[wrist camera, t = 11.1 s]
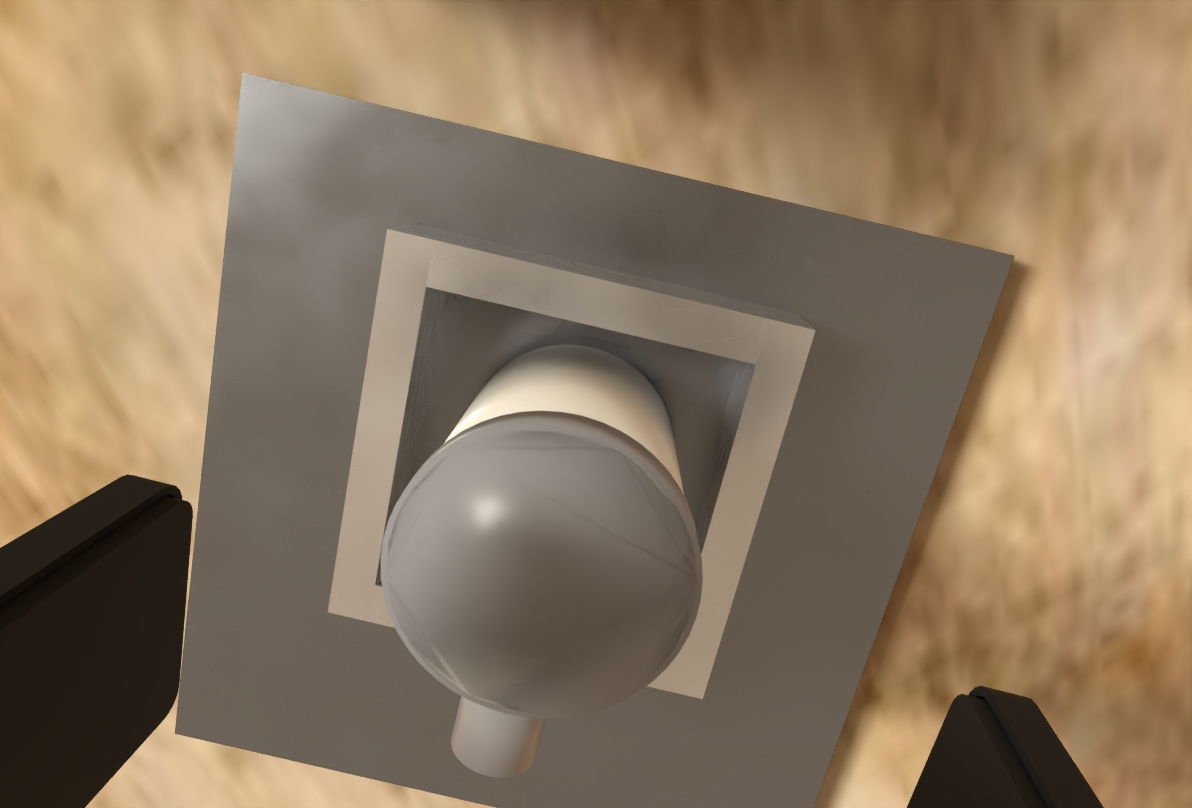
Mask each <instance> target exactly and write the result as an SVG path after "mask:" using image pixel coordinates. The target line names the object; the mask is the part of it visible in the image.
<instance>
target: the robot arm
mask: <svg viewBox="0 0 1192 808" xmlns="http://www.w3.org/2000/svg"><path fill="white" fill-rule="evenodd" d="M192 518H193V510H192V506H191V504H190V503H189V502H188V501H184V500H182V495H181V492H180V490H179V489H178V488H177V487H176V486H174V485H170V484H166V483H162V482H158V481H154V480H150V479H146V478H142V477H138V476H133V475H125V476H122V477H120V478H118V479H117V480H115V481H113V482H112V483H110V484H108V485H106V486H105V487H103V488H101V489H100V490H98V491H96V492H95V493H93V494H91V495H89V496H88V497H86V498H84V499H83V500H81V501H79V502H78V503H76V504H74V505H72V506H71V507H69V508H67V509H66V510H64V511H62V512H61V513H59V514H57V515H56V516H54V517H52V518H50V519H49V520H47V521H45V522H44V523H42V524H40V525H39V526H37V527H35V528H33V529H32V530H30V531H28V532H27V533H25V534H23V535H22V536H20V537H18V538H16V539H15V540H13V541H11V542H10V543H8V544H6V545H5V546H3V547H1V548H0V808H85V807H86V806H87V805H88V803H89V802H90V801H91V800H92V799H93V798H94V797H95V796H96V795H97V793H98V792H99V791H100V790H101V789H102V788H103V787H104V786H105V785H106V783H107V782H108V781H109V780H110V779H111V778H112V777H113V776H114V774H115V773H116V772H117V771H118V770H119V769H120V768H121V767H122V766H123V764H124V763H125V762H126V761H127V760H128V759H129V758H130V757H131V756H132V754H133V753H134V752H135V751H136V750H137V749H138V748H139V747H140V746H141V744H142V743H143V742H144V741H145V740H146V739H147V738H148V737H149V736H150V734H151V733H152V732H153V731H154V730H155V729H156V728H157V727H158V726H159V724H160V723H161V722H162V721H163V720H164V719H165V717H166V716H167V715H168V713H169V711H170V710H171V708H172V706H173V704H174V702H175V699H176V696H177V693H178V689H179V681H180V669H181V656H182V644H183V631H184V618H185V606H186V593H187V581H188V568H189V555H190V543H191V530H192ZM907 808H1104V807H1103V806H1102V804H1101V803H1100V801H1099V800H1098V798H1097V797H1096V795H1095V793H1094V792H1093V790H1092V789H1091V787H1090V786H1089V784H1088V783H1087V781H1086V780H1085V778H1084V777H1083V775H1082V774H1081V772H1080V770H1079V769H1078V767H1077V766H1076V764H1075V763H1074V761H1073V760H1072V758H1071V757H1070V755H1069V754H1068V752H1067V751H1066V749H1065V748H1064V746H1063V744H1062V743H1061V741H1060V740H1059V738H1058V737H1057V735H1056V734H1055V732H1054V731H1053V729H1052V728H1051V726H1050V725H1049V723H1048V722H1047V720H1046V718H1045V717H1044V715H1043V714H1042V712H1041V711H1040V709H1039V708H1038V706H1037V705H1036V704H1035V703H1034V702H1033V700H1032V699H1030V698H1027V697H1023V696H1019V695H1015V694H1011V693H1007V692H1003V691H999V690H995V689H991V688H987V687H983V686H979V687H975V688H974V689H973V690H972V691H971V692H970V693H969V695H964V694H961V695H958V696H957V697H956V698H955V699H954V701H953V702H952V704H951V706H950V708H949V711H948V713H947V715H946V718H945V720H944V722H943V725H942V727H941V729H940V732H939V734H938V736H937V739H936V741H935V743H934V746H933V748H932V750H931V753H930V755H929V757H928V760H927V762H926V764H925V767H924V769H923V771H922V774H921V776H920V778H919V780H918V783H917V785H916V787H915V790H914V792H913V794H912V797H911V799H910V801H909V804H908V806H907Z"/></svg>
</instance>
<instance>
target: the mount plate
mask: <svg viewBox="0 0 1192 808" xmlns="http://www.w3.org/2000/svg"><path fill="white" fill-rule="evenodd" d="M1013 259H1014V256H1013V255H1009V254H1005V253H1000V252H996V251H992V250H988V249H983V248H979V247H975V246H971V245H967V244H962V243H958V242H954V241H950V240H946V239H941V238H937V237H933V236H929V235H924V234H920V233H916V232H912V231H908V230H903V229H899V228H895V227H891V226H887V225H882V224H878V223H874V222H870V221H865V220H861V219H857V218H853V217H849V216H844V215H840V214H836V213H832V212H828V211H823V210H819V209H815V208H811V207H806V206H802V205H798V204H794V203H790V202H785V201H781V200H777V199H773V198H769V197H764V196H760V195H756V194H752V193H747V192H743V191H739V190H735V189H731V188H726V187H722V186H718V185H714V184H710V183H705V182H701V181H697V180H693V179H688V178H684V177H680V176H676V175H672V174H667V173H663V172H659V171H655V170H651V169H646V168H642V167H638V166H634V165H629V164H625V163H621V162H617V161H613V160H608V159H604V158H600V157H596V156H592V155H587V154H583V153H579V152H575V151H571V150H566V149H562V148H558V147H554V146H549V145H545V144H541V143H537V142H533V141H528V140H524V139H520V138H516V137H512V136H507V135H503V134H499V133H495V132H490V131H486V130H482V129H478V128H474V127H469V126H465V125H461V124H457V123H453V122H448V121H444V120H440V119H436V118H431V117H427V116H423V115H419V114H415V113H410V112H406V111H402V110H398V109H394V108H389V107H385V106H381V105H377V104H372V103H368V102H364V101H360V100H356V99H351V98H347V97H343V96H339V95H335V94H330V93H326V92H322V91H318V90H313V89H309V88H305V87H301V86H297V85H292V84H288V83H284V82H280V81H276V80H271V79H267V78H263V77H259V76H254V75H250V74H246V73H242V83H241V93H240V102H239V112H238V122H237V132H236V141H235V151H234V161H233V171H232V180H231V190H230V200H229V210H228V220H227V229H226V239H225V249H224V259H223V268H222V278H221V288H220V298H219V307H218V317H217V327H216V337H215V346H214V356H213V366H212V376H211V386H210V395H209V405H208V415H207V425H206V434H205V444H204V454H203V464H202V473H201V483H200V493H199V503H198V513H197V522H196V532H195V542H194V552H193V561H192V571H191V581H190V591H189V600H188V610H187V620H186V630H185V639H184V649H183V659H182V669H181V679H180V688H179V698H178V708H177V718H176V727H175V734H179V735H183V736H188V737H192V738H196V739H201V740H205V741H209V742H214V743H218V744H222V745H227V746H231V747H236V748H240V749H244V750H249V751H253V752H257V753H262V754H266V755H270V756H275V757H279V758H283V759H288V760H292V761H296V762H301V763H305V764H309V765H314V766H318V767H322V768H327V769H331V770H335V771H340V772H344V773H348V774H353V775H357V776H361V777H366V778H370V779H375V780H379V781H383V782H388V783H392V784H396V785H401V786H405V787H409V788H414V789H418V790H422V791H427V792H431V793H435V794H440V795H444V796H448V797H453V798H457V799H461V800H466V801H470V802H474V803H479V804H483V805H487V806H492V807H496V808H814V805H815V803H816V800H817V797H818V794H819V792H820V789H821V786H822V783H823V781H824V778H825V775H826V772H827V770H828V767H829V764H830V761H831V759H832V756H833V753H834V750H835V748H836V745H837V742H838V740H839V737H840V734H841V731H842V729H843V726H844V723H845V720H846V718H847V715H848V712H849V709H850V707H851V704H852V701H853V698H854V696H855V693H856V690H857V687H858V685H859V682H860V679H861V676H862V674H863V671H864V668H865V665H866V663H867V660H868V657H869V654H870V652H871V649H872V646H873V643H874V641H875V638H876V635H877V632H878V630H879V627H880V624H881V621H882V619H883V616H884V613H885V610H886V608H887V605H888V602H889V599H890V597H891V594H892V591H893V588H894V586H895V583H896V580H897V577H898V575H899V572H900V569H901V566H902V564H903V561H904V558H905V555H906V553H907V550H908V547H909V545H910V542H911V539H912V536H913V534H914V531H915V528H916V525H917V523H918V520H919V517H920V514H921V512H922V509H923V506H924V503H925V501H926V498H927V495H928V492H929V490H930V487H931V484H932V481H933V479H934V476H935V473H936V470H937V468H938V465H939V462H940V459H941V457H942V454H943V451H944V448H945V446H946V443H947V440H948V437H949V435H950V432H951V429H952V426H953V424H954V421H955V418H956V415H957V413H958V410H959V407H960V404H961V402H962V399H963V396H964V393H965V391H966V388H967V385H968V382H969V380H970V377H971V374H972V371H973V369H974V366H975V363H976V361H977V358H978V355H979V352H980V350H981V347H982V344H983V341H984V339H985V336H986V333H987V330H988V328H989V325H990V322H991V319H992V317H993V314H994V311H995V308H996V306H997V303H998V300H999V297H1000V295H1001V292H1002V289H1003V286H1004V284H1005V281H1006V278H1007V275H1008V273H1009V270H1010V267H1011V264H1012V262H1013ZM555 345H580V346H586V347H591V348H596V349H599V350H602V351H605V352H608V353H610V354H612V355H614V356H616V357H619V358H621V359H622V360H624V361H625V362H627V363H628V364H630V365H632V366H633V367H634V368H635V369H637V370H638V371H639V372H640V373H641V374H642V375H644V377H645V378H646V379H647V380H648V381H649V382H650V383H651V384H652V386H653V387H654V388H655V390H656V391H657V393H658V394H659V396H660V397H661V399H662V401H663V403H664V405H665V407H666V409H667V412H668V415H669V418H670V421H671V426H672V431H673V437H674V442H675V448H676V453H677V459H678V465H679V470H680V476H681V481H682V487H683V493H684V497H685V499H686V501H687V503H688V505H689V508H690V511H691V514H692V516H693V519H694V522H695V528H696V533H697V538H698V543H699V548H700V553H701V559H702V574H703V583H702V593H701V601H700V605H699V609H698V613H697V617H696V620H695V622H694V625H693V627H692V630H691V632H690V635H689V637H688V638H687V640H686V642H685V644H684V645H683V647H682V649H681V650H680V652H679V653H678V655H677V656H676V657H675V659H674V660H673V661H672V662H671V664H670V665H669V666H668V667H667V668H666V669H665V670H664V671H663V672H662V673H661V674H660V675H659V676H658V677H657V678H656V679H655V680H654V681H653V682H651V683H650V684H649V685H647V686H646V687H645V688H643V689H642V690H641V691H639V692H638V693H636V694H634V695H633V696H631V697H629V698H627V699H625V700H624V701H622V702H620V703H617V704H615V705H612V706H610V707H608V708H605V709H603V710H599V711H595V712H592V713H588V714H585V715H579V716H572V717H566V718H547V721H546V724H545V728H544V731H543V735H542V738H541V742H540V745H539V749H538V753H537V756H536V760H535V762H534V764H533V765H532V766H531V767H530V768H529V769H528V770H527V771H525V772H524V773H522V774H520V775H517V776H513V777H506V778H497V777H490V776H485V775H482V774H479V773H477V772H475V771H473V770H471V769H469V768H468V767H466V766H465V765H464V764H462V763H461V762H460V761H459V760H458V758H457V757H456V756H455V754H454V752H453V750H452V746H451V737H452V732H453V728H454V724H455V720H456V716H457V712H458V708H459V704H460V700H461V695H459V694H457V693H455V692H454V691H452V690H450V689H449V688H448V687H446V686H445V685H444V684H442V683H441V682H440V681H438V680H437V679H435V678H434V677H433V676H432V675H431V674H430V673H429V672H428V671H427V670H426V669H425V668H424V667H423V666H422V665H421V664H420V663H419V662H418V661H417V660H416V658H415V657H414V656H413V655H412V654H411V652H410V651H409V650H408V649H407V647H406V645H405V644H404V642H403V641H402V639H401V637H400V636H399V634H398V633H397V630H396V628H395V626H394V624H393V622H392V619H391V617H390V615H389V612H388V609H387V605H386V602H385V599H384V594H383V588H382V582H381V551H382V544H383V538H384V534H385V531H386V527H387V524H388V520H389V518H390V516H391V514H392V511H393V509H394V507H395V505H396V503H397V501H398V499H399V498H400V496H401V495H402V493H403V491H404V490H405V488H406V487H407V485H408V484H409V482H410V481H411V480H412V478H413V477H414V475H415V474H416V473H417V471H418V470H419V469H420V467H421V466H422V465H423V464H424V463H425V462H426V460H427V459H428V458H429V457H430V456H431V455H432V454H433V453H434V452H435V451H436V450H437V449H438V448H440V447H441V446H442V445H443V444H444V443H445V441H446V440H447V438H448V437H449V435H450V434H451V432H452V431H453V430H454V428H455V427H456V425H457V424H458V422H459V421H460V419H461V418H462V417H463V415H464V414H465V412H466V411H467V409H468V408H469V406H470V405H471V404H472V402H473V401H474V399H475V398H476V396H477V395H478V393H479V392H480V391H481V389H482V388H483V386H484V385H485V384H486V383H487V381H488V380H489V379H490V378H491V377H492V376H493V375H494V374H495V373H496V372H497V371H498V370H499V369H500V368H502V367H503V366H504V365H506V364H507V363H509V362H510V361H512V360H513V359H515V358H517V357H519V356H521V355H523V354H525V353H527V352H530V351H533V350H536V349H539V348H544V347H549V346H555Z"/></svg>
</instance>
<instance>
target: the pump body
mask: <svg viewBox="0 0 1192 808" xmlns="http://www.w3.org/2000/svg"><path fill="white" fill-rule="evenodd" d="M381 582H382V588H383V594H384V599H385V602H386V605H387V609H388V612H389V615H390V617H391V619H392V622H393V624H394V626H395V628H396V630H397V633H398V634H399V636H400V637H401V639H402V641H403V642H404V644H405V645H406V647H407V649H408V650H409V651H410V652H411V654H412V655H413V656H414V657H415V658H416V660H417V661H418V662H419V663H420V664H421V665H422V666H423V667H424V668H425V669H426V670H427V671H428V672H429V673H430V674H431V675H432V676H433V677H434V678H435V679H437V680H438V681H440V682H441V683H442V684H444V685H445V686H446V687H448V688H449V689H450V690H452V691H454V692H455V693H457V694H459V695H461V700H460V704H459V708H458V712H457V716H456V720H455V724H454V728H453V732H452V737H451V746H452V750H453V752H454V754H455V756H456V757H457V758H458V760H459V761H460V762H461V763H462V764H464V765H465V766H466V767H468V768H469V769H471V770H473V771H475V772H477V773H479V774H482V775H485V776H490V777H497V778H506V777H513V776H517V775H520V774H522V773H524V772H525V771H527V770H528V769H529V768H530V767H531V766H532V765H533V764H534V762H535V760H536V756H537V753H538V749H539V745H540V742H541V738H542V735H543V731H544V728H545V724H546V721H547V718H566V717H572V716H579V715H585V714H588V713H592V712H595V711H599V710H603V709H605V708H608V707H610V706H612V705H615V704H617V703H620V702H622V701H624V700H625V699H627V698H629V697H631V696H633V695H634V694H636V693H638V692H639V691H641V690H642V689H643V688H645V687H646V686H647V685H649V684H650V683H651V682H653V681H654V680H655V679H656V678H657V677H658V676H659V675H660V674H661V673H662V672H663V671H664V670H665V669H666V668H667V667H668V666H669V665H670V664H671V662H672V661H673V660H674V659H675V657H676V656H677V655H678V653H679V652H680V650H681V649H682V647H683V645H684V644H685V642H686V640H687V638H688V637H689V635H690V632H691V630H692V627H693V625H694V622H695V620H696V617H697V613H698V609H699V605H700V601H701V593H702V583H703V574H702V559H701V553H700V548H699V543H698V538H697V533H696V528H695V522H694V519H693V516H692V514H691V511H690V508H689V505H688V503H687V501H686V499H685V497H684V493H683V487H682V481H681V476H680V470H679V465H678V459H677V453H676V448H675V442H674V437H673V431H672V426H671V421H670V418H669V415H668V412H667V409H666V407H665V405H664V403H663V401H662V399H661V397H660V396H659V394H658V393H657V391H656V390H655V388H654V387H653V386H652V384H651V383H650V382H649V381H648V380H647V379H646V378H645V377H644V375H642V374H641V373H640V372H639V371H638V370H637V369H635V368H634V367H633V366H632V365H630V364H628V363H627V362H625V361H624V360H622V359H621V358H619V357H616V356H614V355H612V354H610V353H608V352H605V351H602V350H599V349H596V348H591V347H586V346H580V345H555V346H549V347H544V348H539V349H536V350H533V351H530V352H527V353H525V354H523V355H521V356H519V357H517V358H515V359H513V360H512V361H510V362H509V363H507V364H506V365H504V366H503V367H502V368H500V369H499V370H498V371H497V372H496V373H495V374H494V375H493V376H492V377H491V378H490V379H489V380H488V381H487V383H486V384H485V385H484V386H483V388H482V389H481V391H480V392H479V393H478V395H477V396H476V398H475V399H474V401H473V402H472V404H471V405H470V406H469V408H468V409H467V411H466V412H465V414H464V415H463V417H462V418H461V419H460V421H459V422H458V424H457V425H456V427H455V428H454V430H453V431H452V432H451V434H450V435H449V437H448V438H447V440H446V441H445V443H444V444H443V445H442V446H441V447H440V448H438V449H437V450H436V451H435V452H434V453H433V454H432V455H431V456H430V457H429V458H428V459H427V460H426V462H425V463H424V464H423V465H422V466H421V467H420V469H419V470H418V471H417V473H416V474H415V475H414V477H413V478H412V480H411V481H410V482H409V484H408V485H407V487H406V488H405V490H404V491H403V493H402V495H401V496H400V498H399V499H398V501H397V503H396V505H395V507H394V509H393V511H392V514H391V516H390V518H389V520H388V524H387V527H386V531H385V534H384V538H383V544H382V551H381Z"/></svg>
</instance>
